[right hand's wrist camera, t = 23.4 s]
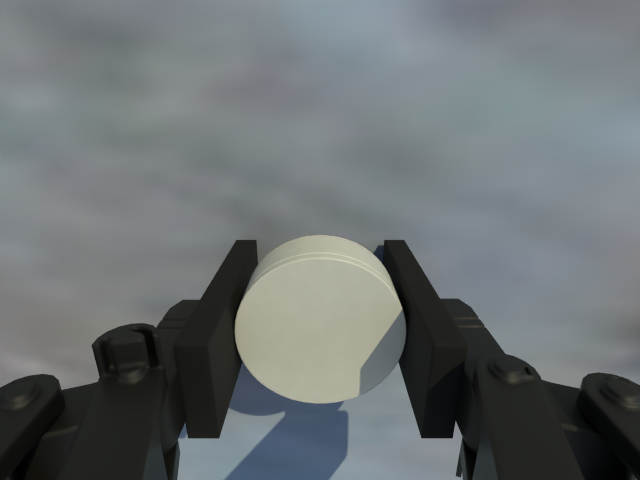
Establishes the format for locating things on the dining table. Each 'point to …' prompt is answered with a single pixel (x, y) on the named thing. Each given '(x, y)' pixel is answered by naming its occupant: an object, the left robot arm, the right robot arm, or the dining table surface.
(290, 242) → the lid
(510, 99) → the dining table surface
